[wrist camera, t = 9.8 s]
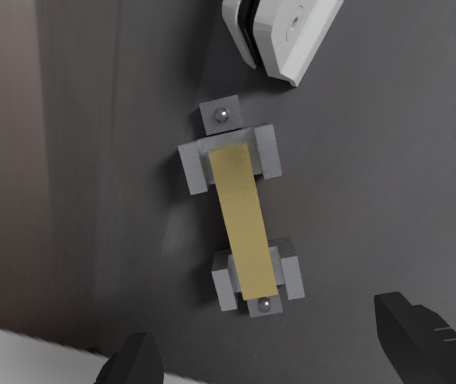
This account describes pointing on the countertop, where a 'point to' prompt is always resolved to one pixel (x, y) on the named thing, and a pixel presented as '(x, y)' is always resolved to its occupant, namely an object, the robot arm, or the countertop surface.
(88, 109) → the countertop surface
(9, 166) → the countertop surface
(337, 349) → the countertop surface
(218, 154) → the link bar
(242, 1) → the white rounded housing
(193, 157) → the linkage with metal pins
